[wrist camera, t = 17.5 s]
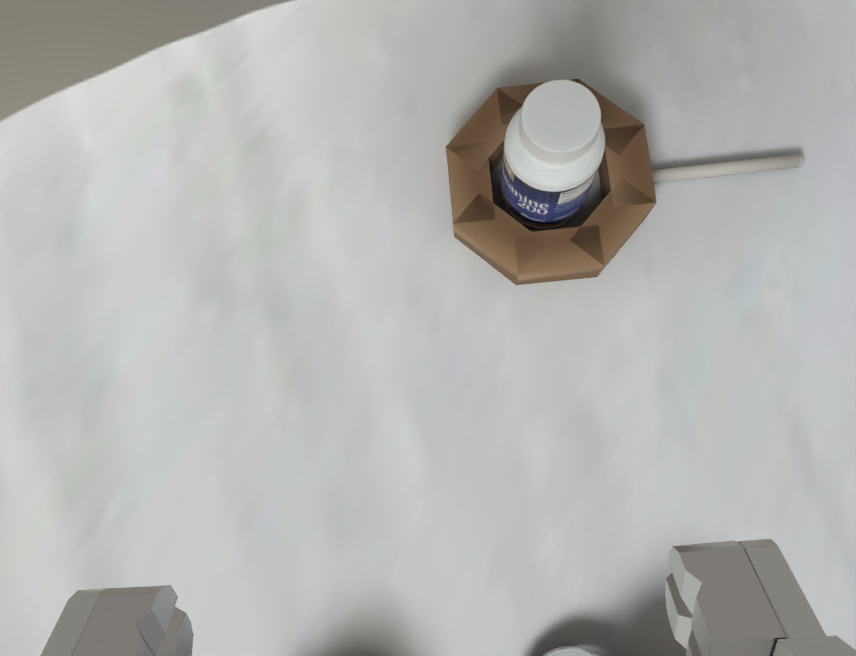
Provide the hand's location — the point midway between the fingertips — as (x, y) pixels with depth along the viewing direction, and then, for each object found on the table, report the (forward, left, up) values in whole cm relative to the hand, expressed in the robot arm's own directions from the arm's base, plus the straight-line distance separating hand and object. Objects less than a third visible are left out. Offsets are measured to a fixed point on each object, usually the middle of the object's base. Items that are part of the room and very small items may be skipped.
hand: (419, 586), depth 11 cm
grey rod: (+18, +18, -29) cm, 39 cm away
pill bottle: (+7, +18, -30) cm, 35 cm away
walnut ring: (+7, +18, -29) cm, 35 cm away
